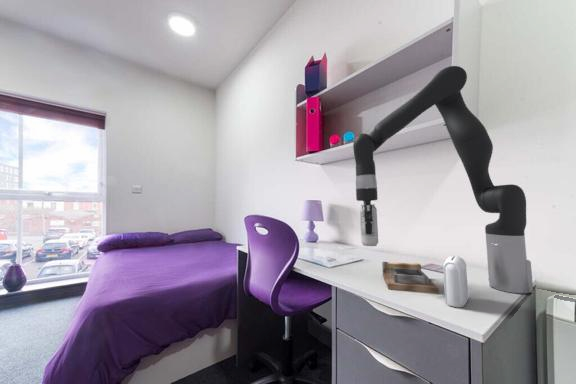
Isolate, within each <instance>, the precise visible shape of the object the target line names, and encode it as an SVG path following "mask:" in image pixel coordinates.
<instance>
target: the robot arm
mask: <svg viewBox="0 0 576 384" xmlns="http://www.w3.org/2000/svg"><path fill="white" fill-rule="evenodd" d="M467 79H468V74H467V72H466V70H465V69H464V68H463V67H461V66H458V65H451V66H446V67H444V68H443V69H441V70H439V71H438V72H437V73H436V74H435V75H434V76H433V78H432V79H431V80H430V81H429V82H428V83H427V84H426V85H425V86H424V87H423V88H422V89H420V91H418V92H417V93H416V94H415V95H413V97H411V98H410V99H409V100H407V101H406V102H405V103H404V104H402V105H400V106H399V107H398V108H396V109H395V110H394V111H392V112H391V113H389V114H387V116H386V117H384V118H383V119H382V120H380V121H379V122H378V123H376V125H375V126H374V129H373V130H372V131H371V132H370V133H369V134H367V133H360V134H359V135H357V136H356V137H355V138H354V140H353V142H352V143H353V144H352V146H353V148H352V149H353V156H354V160H355V194H356V195H355V196H356V197H355V198H356V201H357V202H363V205H364V210H365V214H364V210H363V218H365V221H364V222H365V223H366V224H365V231H366V234H372V224H371V223H372V221H373V219H372V217H373V211H372V205H371V204H372V203H371V202H372V201H377V200H378V182H377V176H376V163H375V160H374V153H375V152H376V150H378V149H379V148H380V147H381V146H382V145H383V144H384V143H385V142H387V141H388V140H389V139H391V138H392V137H393V136H394V135H396V134H398V133H399V132H400V131H402V130H403V129H405V128H406V127H407V126H408V125H410V124H411V123H412V122H413V121H414V120H416V119H417V118H418V117H419V116H421V115H422V114H423V113H424V112H426V111H427V110H429V109H431V108H432V107H433V106H436V109H438V112H439V113H440V115H441V117H442V119H443V121H444V124H445V125H444V126H445V127H446V130H447V132H448V134H449V137H450V139H451V142H452V145H453V146H454V149H455V150H456V153H457V155H458V157H459V159H460V161H461V163H462V165H463V167H464V169H465V172H466V175H467V177H468V179H469V184H470V186H471V189H472V193H473V196H474V199H475V202H476V204H477V205H478V207H479V208H480V209H481V210H482V211H483V212H485V213H488V214H498V215H499V216H498V219H497V220H496V221H494V222H492V223H488V224H486V225H485V227H484V228H485V229H484V231H485V232H484V233H485V244H486V258H487V259H486V260H487V271H488V273H487V274H488V285H489V287H490V288H493V289H496V290H498V291H502V292H508V293H514V294H529V293H530V294H534V284H533V275H532V274H533V273H532V271H533V270H532V261H531V260H529V259H528V258H527V247H526V246H527V245H526V235H525V230H526V226H527V197H526V194H525V192H524V190H523V188H522V187H521V186H519V185H517V184H511V183H510V184H499V185H494V183H493V181H492V179H491V176H490V172H489V167H490V163H491V159H492V154H493V151H494V147H493V141H492V139H491V137H490V135H489V133H488V131H487V129H486V127H485V125H484V124H483V123H482V122H481V121H480V119H478V117H477V116H476V115H475V114H474V113H472V111H471V110H470V109H469V108H468V107H467V104H466V102H465V100H464V98H463V95H462V93H461V91H462V90H463V88H464V86H465V85H466V82H467ZM362 209H363V206H362ZM367 211H369V212H367ZM366 217H370V218H366Z"/></svg>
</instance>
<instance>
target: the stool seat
mask: <svg viewBox="0 0 576 384" xmlns="http://www.w3.org/2000/svg"><path fill="white" fill-rule="evenodd" d="M382 278H383V280H384V282H385V284H386V287H387V290H390V291H391V290H393V291H403V292H412V293H415V292H416V293H426V294H437V295H439V294H440V289H439V288H440V287H439V286H438V285H436V284H435V283H434V282H433V281H432V280H431V279H430V278H429V276H428V275H426V273H424V271H422V269H421V270H420V269H409V268H393V267H390V273H383V272H382Z"/></svg>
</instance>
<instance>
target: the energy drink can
mask: <svg viewBox="0 0 576 384" xmlns="http://www.w3.org/2000/svg"><path fill="white" fill-rule="evenodd" d="M371 205H372V211H373V217H372V219H373V221H372V223H371V224H372V234H366V231H365V224H366V223H365V222H364V221H365V218H363V210H364V204H361V205H360V207H359V222H360V223H359V226H360V243H361V244H362V246H364V247H376V246H378V244H379V229H378V208H377V207H376V206H375V203H374V204H373V203H371ZM362 206H363V209H362ZM367 212H369V211H367ZM364 214H365V210H364ZM366 218H370V217H366Z"/></svg>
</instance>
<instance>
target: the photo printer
mask: <svg viewBox="0 0 576 384" xmlns="http://www.w3.org/2000/svg"><path fill="white" fill-rule="evenodd" d="M467 271H468V270H467V263H466V261H465V260H464V258H462V257H461V256H459V255H457V256H455V255H451V256H449V257H447V258H446V260H445V262H444V263H443V285H444V286H443V287H444V300H445V304H447V305H448V306H450V307H454V308H457V309H458V308H463V307H465V305H466V304H467V302H468V299H469V289H468V288H469V287H468V275H467V274H468V273H467Z"/></svg>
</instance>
